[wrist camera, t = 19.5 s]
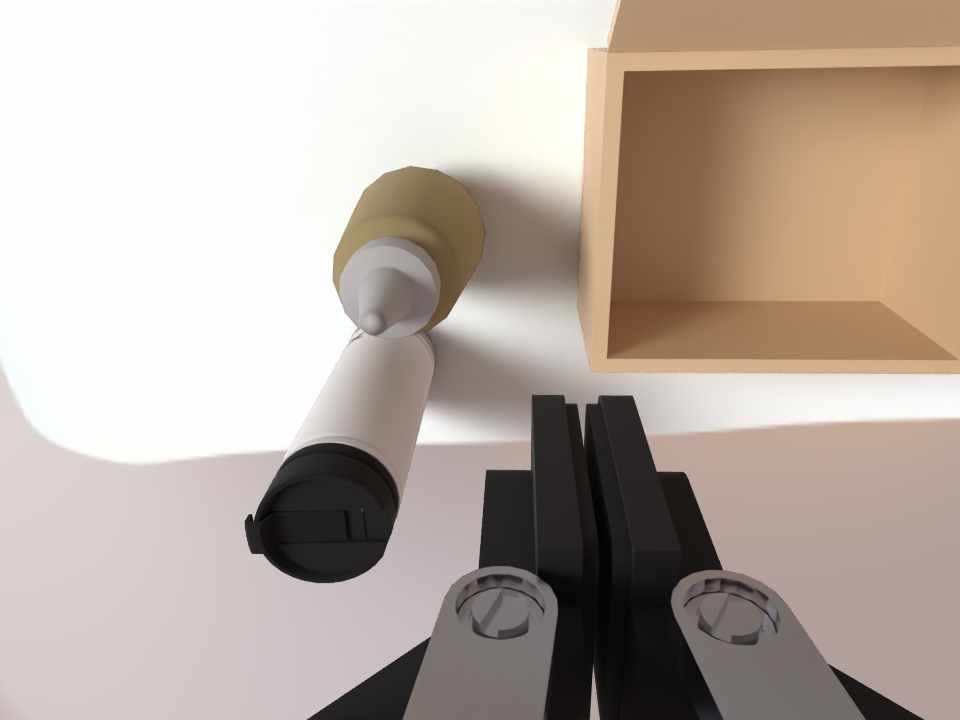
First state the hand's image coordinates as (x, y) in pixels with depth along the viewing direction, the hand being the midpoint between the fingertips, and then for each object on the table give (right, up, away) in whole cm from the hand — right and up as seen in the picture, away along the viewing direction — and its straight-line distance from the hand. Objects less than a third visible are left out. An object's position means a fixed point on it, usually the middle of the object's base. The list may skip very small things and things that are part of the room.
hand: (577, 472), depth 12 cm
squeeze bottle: (-5, +11, +34) cm, 36 cm away
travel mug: (-8, +2, +38) cm, 39 cm away
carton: (+15, +13, +32) cm, 37 cm away
